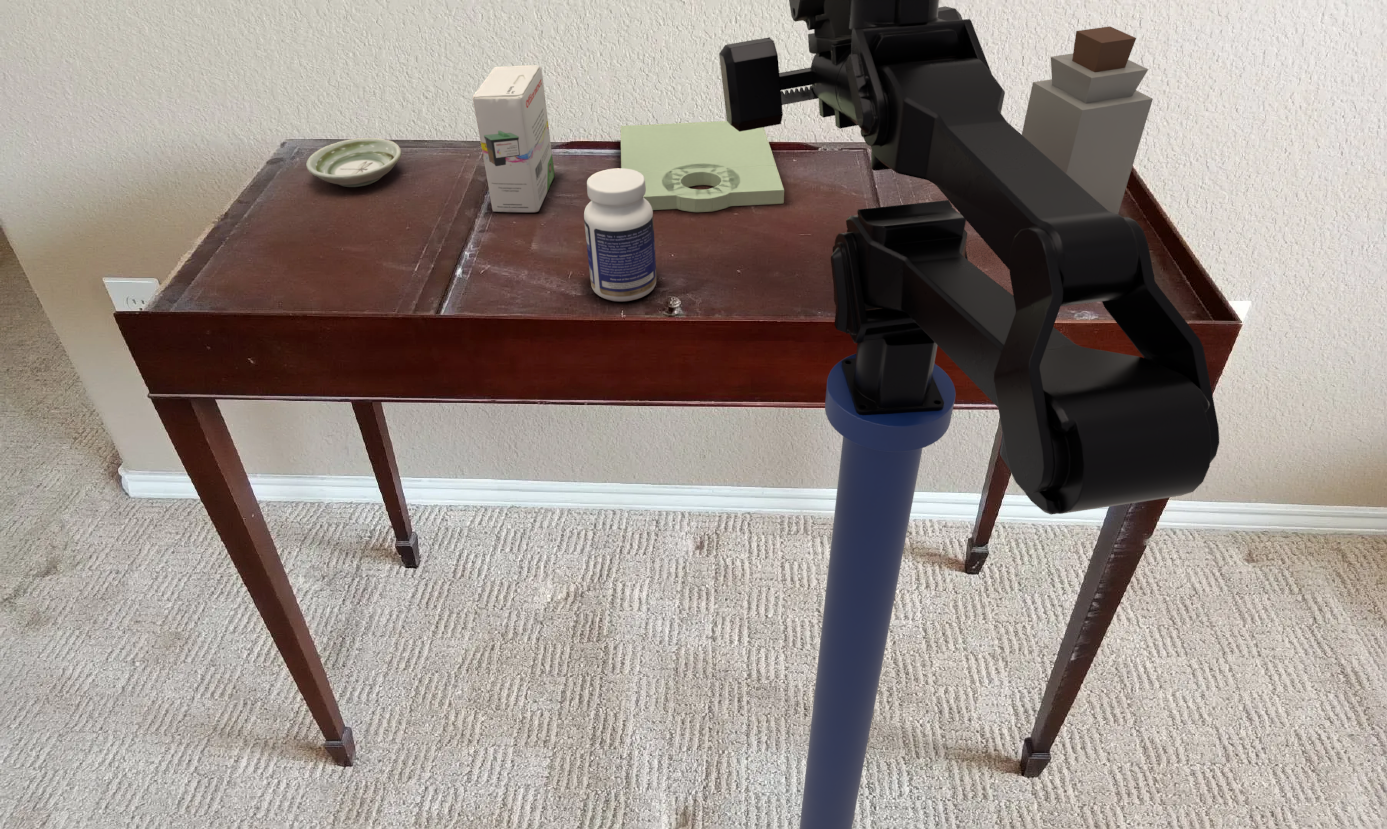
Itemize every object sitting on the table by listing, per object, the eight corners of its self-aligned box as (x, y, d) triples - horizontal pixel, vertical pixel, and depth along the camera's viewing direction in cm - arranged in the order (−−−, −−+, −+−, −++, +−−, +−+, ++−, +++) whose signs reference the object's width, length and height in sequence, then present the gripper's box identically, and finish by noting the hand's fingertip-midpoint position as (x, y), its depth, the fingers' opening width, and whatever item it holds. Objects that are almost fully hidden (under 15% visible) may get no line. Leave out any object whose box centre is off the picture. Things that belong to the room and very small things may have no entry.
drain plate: (785, 208, 90) (785, 194, 89) (622, 216, 90) (621, 202, 89) (761, 131, 105) (761, 118, 104) (621, 138, 104) (620, 125, 103)
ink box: (510, 175, 97) (492, 62, 90) (556, 176, 97) (542, 63, 89) (490, 212, 91) (469, 94, 83) (539, 213, 90) (522, 95, 83)
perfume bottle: (1063, 213, 88) (1113, 17, 77) (1108, 245, 83) (1170, 41, 72) (1002, 224, 87) (1044, 27, 75) (1044, 258, 82) (1097, 52, 70)
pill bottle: (670, 284, 80) (666, 177, 73) (623, 311, 76) (614, 202, 70) (625, 262, 83) (617, 157, 76) (577, 287, 80) (565, 180, 73)
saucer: (322, 160, 101) (316, 139, 100) (411, 155, 102) (406, 134, 100) (303, 200, 94) (296, 178, 92) (399, 194, 94) (393, 171, 93)
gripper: (1003, -64, 61) (915, -69, 75) (733, -19, 60) (692, -32, 73) (998, 106, 67) (917, 72, 80) (750, 151, 66) (710, 110, 79)
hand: (812, 54), depth 78 cm, fingers open, 9 cm apart
